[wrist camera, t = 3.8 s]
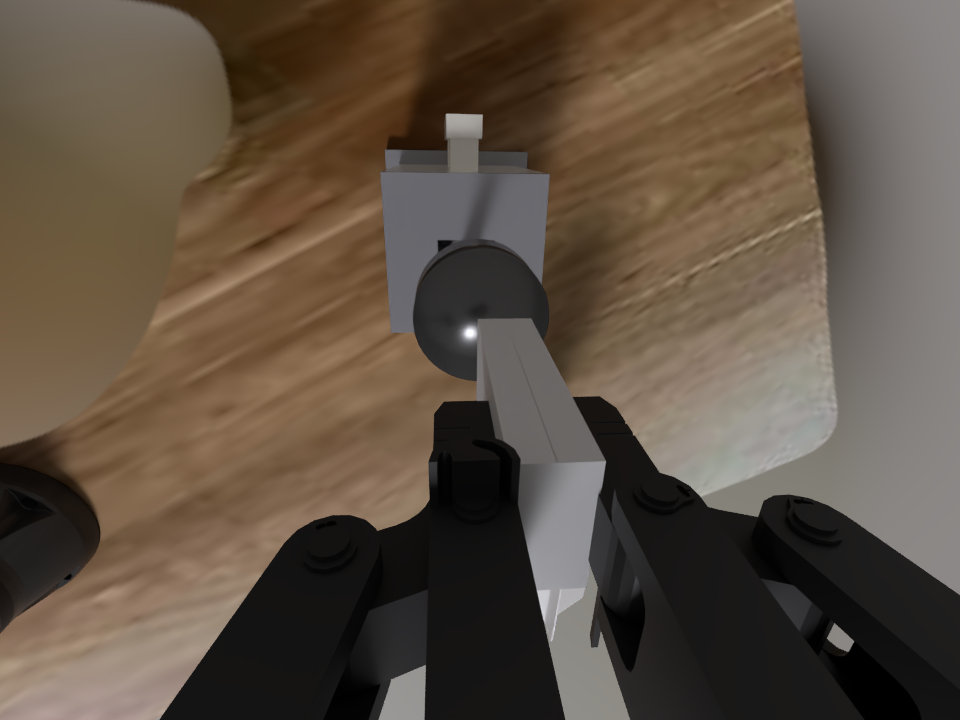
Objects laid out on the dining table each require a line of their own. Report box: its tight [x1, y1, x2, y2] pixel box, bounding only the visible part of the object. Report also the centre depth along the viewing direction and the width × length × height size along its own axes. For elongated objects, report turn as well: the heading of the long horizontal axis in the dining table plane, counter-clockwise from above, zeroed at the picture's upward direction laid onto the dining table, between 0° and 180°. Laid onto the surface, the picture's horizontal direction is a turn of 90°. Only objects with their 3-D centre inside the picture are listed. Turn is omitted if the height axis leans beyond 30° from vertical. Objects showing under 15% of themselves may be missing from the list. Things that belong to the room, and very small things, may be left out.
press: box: [380, 114, 550, 333], centre depth 33 cm, size 11×13×14 cm
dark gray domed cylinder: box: [413, 239, 549, 381], centre depth 23 cm, size 6×6×14 cm
